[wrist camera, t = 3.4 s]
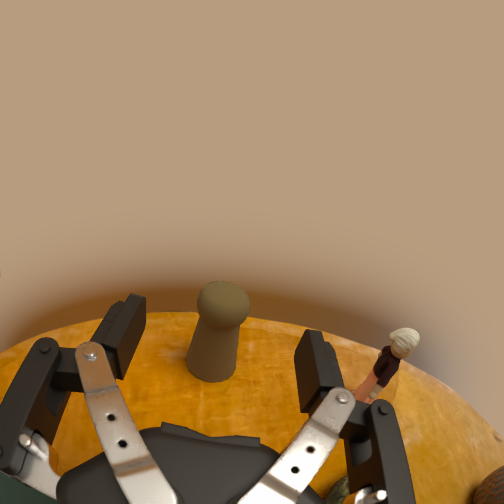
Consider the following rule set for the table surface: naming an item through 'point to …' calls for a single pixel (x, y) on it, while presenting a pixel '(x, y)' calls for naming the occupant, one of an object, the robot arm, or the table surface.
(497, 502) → the vase
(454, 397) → the table surface
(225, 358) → the cork
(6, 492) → the mat
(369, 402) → the grandmother figurine
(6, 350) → the table surface
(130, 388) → the table surface
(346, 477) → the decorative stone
